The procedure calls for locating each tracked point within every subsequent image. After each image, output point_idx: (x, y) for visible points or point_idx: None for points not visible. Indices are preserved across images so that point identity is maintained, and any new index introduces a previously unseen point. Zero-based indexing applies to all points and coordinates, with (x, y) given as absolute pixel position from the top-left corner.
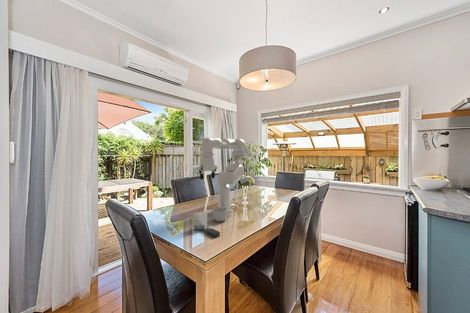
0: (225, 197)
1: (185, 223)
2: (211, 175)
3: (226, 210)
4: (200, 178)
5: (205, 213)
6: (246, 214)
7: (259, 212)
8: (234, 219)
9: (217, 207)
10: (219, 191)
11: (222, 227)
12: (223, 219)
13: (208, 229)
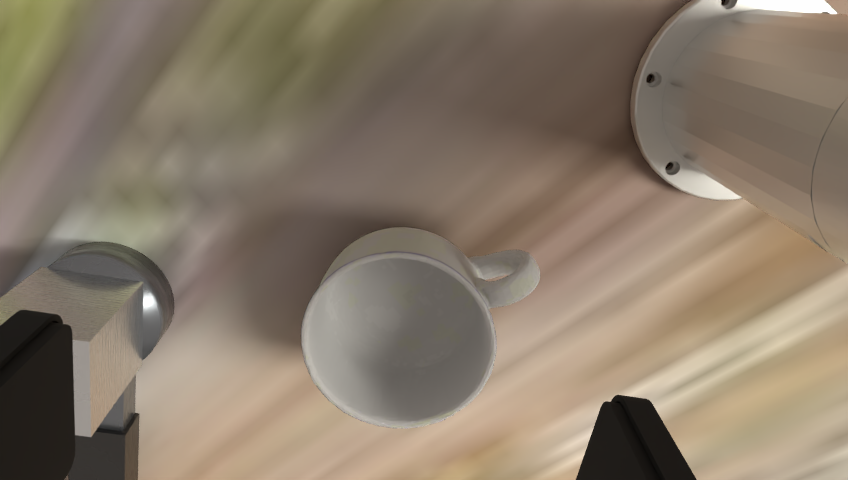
0: (777, 219)
1: (70, 66)
2: (636, 474)
3: (420, 421)
4: (12, 327)
5: (81, 418)
6: (708, 381)
7: (833, 440)
8: (505, 378)
9: (448, 271)
10: (836, 125)
11: (273, 417)
12: (379, 360)
13: (85, 437)
